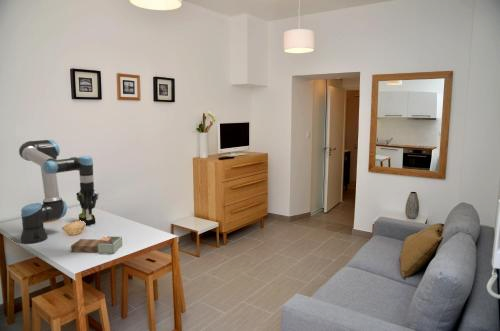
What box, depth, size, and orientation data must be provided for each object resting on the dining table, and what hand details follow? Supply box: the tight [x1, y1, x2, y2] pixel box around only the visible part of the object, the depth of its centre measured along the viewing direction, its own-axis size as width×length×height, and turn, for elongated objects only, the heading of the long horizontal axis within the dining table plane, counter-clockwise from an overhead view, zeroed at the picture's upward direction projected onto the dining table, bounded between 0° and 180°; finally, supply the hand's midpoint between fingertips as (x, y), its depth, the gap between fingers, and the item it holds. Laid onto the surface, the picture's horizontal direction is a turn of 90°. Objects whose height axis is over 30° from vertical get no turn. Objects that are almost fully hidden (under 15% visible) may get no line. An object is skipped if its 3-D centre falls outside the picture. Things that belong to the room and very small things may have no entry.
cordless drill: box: [76, 194, 99, 227], centre depth 264 cm, size 23×7×25 cm, turn 57°
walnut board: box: [70, 238, 100, 254], centre depth 221 cm, size 17×11×4 cm, turn 87°
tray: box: [98, 235, 123, 255], centre depth 220 cm, size 9×13×6 cm
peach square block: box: [99, 236, 111, 244], centre depth 220 cm, size 5×5×3 cm
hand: (88, 219), depth 218 cm, fingers closed
